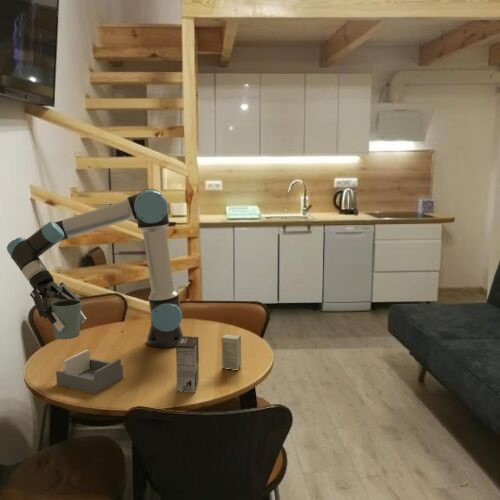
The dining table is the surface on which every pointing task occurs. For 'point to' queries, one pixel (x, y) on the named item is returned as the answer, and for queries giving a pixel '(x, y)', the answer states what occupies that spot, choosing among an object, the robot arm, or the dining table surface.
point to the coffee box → (187, 364)
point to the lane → (93, 376)
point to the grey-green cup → (67, 317)
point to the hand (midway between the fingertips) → (73, 325)
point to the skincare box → (231, 351)
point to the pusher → (77, 363)
